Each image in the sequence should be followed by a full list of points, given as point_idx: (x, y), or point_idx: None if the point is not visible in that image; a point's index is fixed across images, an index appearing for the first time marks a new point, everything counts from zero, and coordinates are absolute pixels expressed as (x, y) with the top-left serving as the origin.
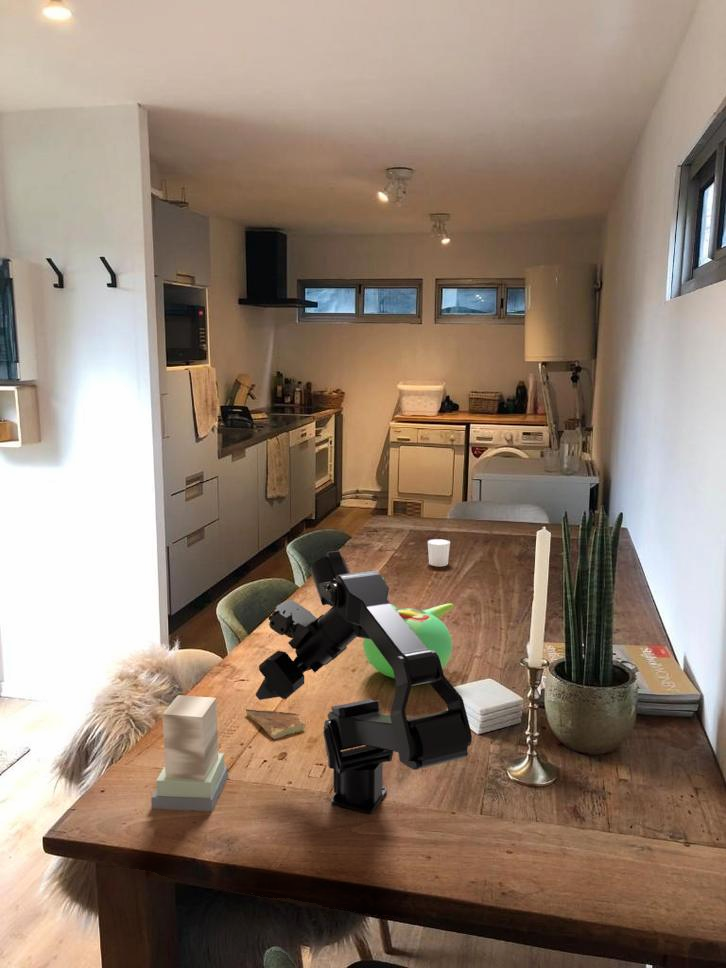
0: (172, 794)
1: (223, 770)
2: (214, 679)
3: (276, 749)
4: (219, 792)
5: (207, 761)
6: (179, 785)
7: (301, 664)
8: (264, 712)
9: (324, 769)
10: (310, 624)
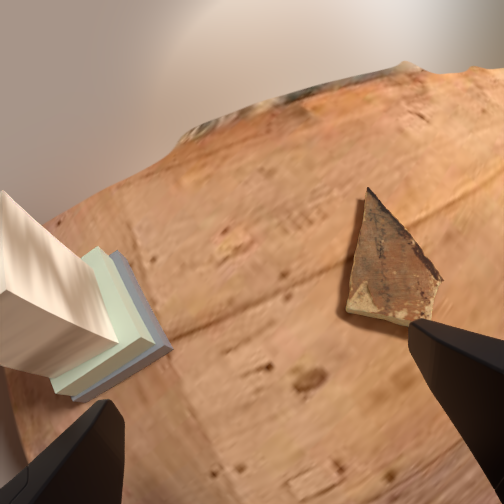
0: None
1: (147, 350)
2: (384, 90)
3: (320, 350)
4: (119, 380)
5: (48, 366)
6: None
7: (472, 410)
8: (390, 222)
9: (329, 488)
10: None
